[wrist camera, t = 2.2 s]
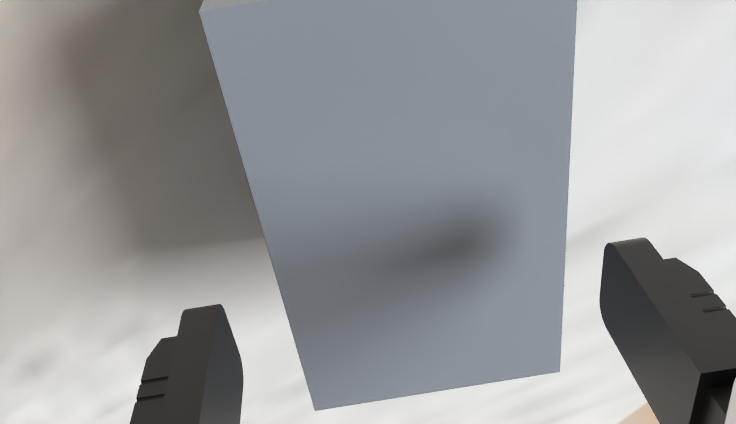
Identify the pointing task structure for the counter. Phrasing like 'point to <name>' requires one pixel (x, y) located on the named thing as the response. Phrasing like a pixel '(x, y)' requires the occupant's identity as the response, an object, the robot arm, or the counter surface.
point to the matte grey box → (406, 182)
